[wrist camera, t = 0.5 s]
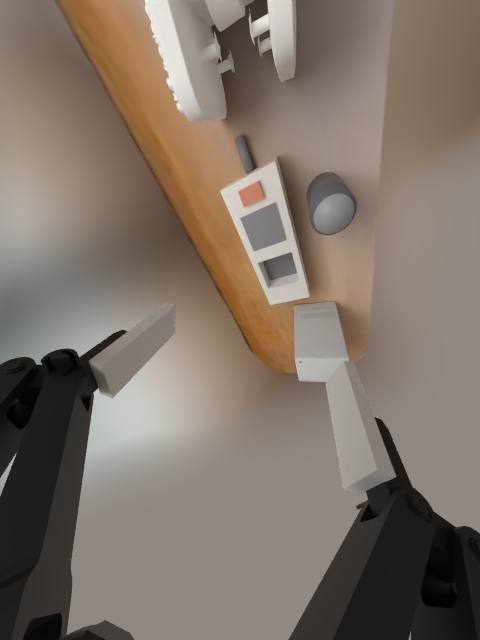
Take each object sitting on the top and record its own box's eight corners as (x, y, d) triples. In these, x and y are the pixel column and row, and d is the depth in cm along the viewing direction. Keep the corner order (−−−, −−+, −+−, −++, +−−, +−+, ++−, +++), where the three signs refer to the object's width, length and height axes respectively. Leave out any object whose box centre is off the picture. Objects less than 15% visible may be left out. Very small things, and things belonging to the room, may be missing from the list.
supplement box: (296, 329, 49) (297, 382, 39) (293, 304, 44) (293, 358, 34) (334, 327, 46) (345, 384, 36) (336, 300, 40) (350, 358, 30)
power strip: (215, 153, 27) (203, 157, 23) (267, 117, 23) (263, 116, 20) (271, 292, 42) (269, 307, 39) (308, 283, 39) (309, 298, 35)
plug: (327, 163, 25) (339, 179, 18) (347, 188, 27) (366, 212, 20) (300, 194, 28) (302, 218, 21) (320, 215, 30) (328, 244, 23)
